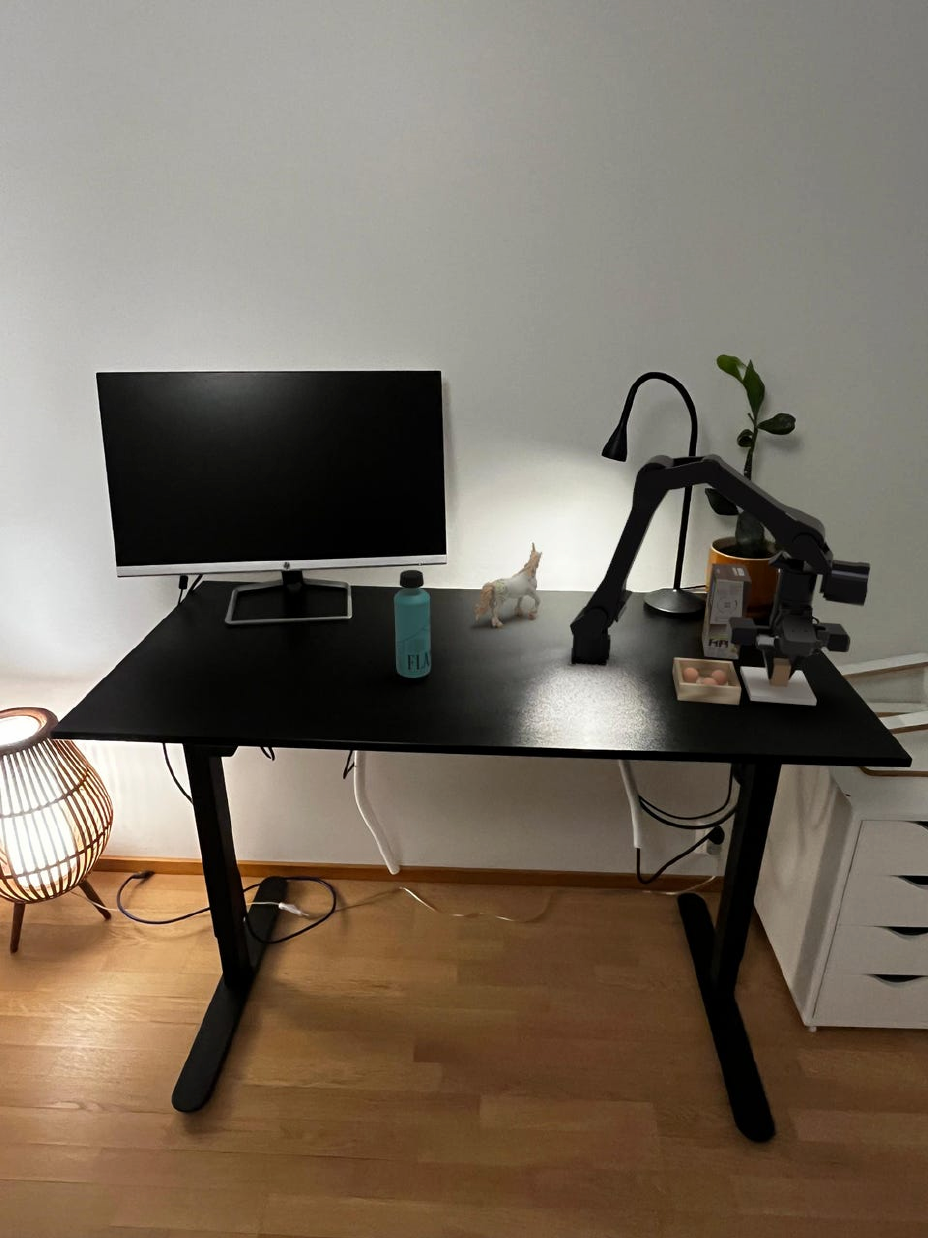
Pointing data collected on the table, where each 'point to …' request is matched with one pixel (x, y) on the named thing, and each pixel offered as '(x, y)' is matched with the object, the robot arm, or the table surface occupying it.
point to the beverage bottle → (412, 626)
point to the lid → (777, 684)
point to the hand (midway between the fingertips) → (778, 679)
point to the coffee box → (724, 608)
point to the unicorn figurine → (511, 590)
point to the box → (704, 691)
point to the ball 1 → (690, 675)
